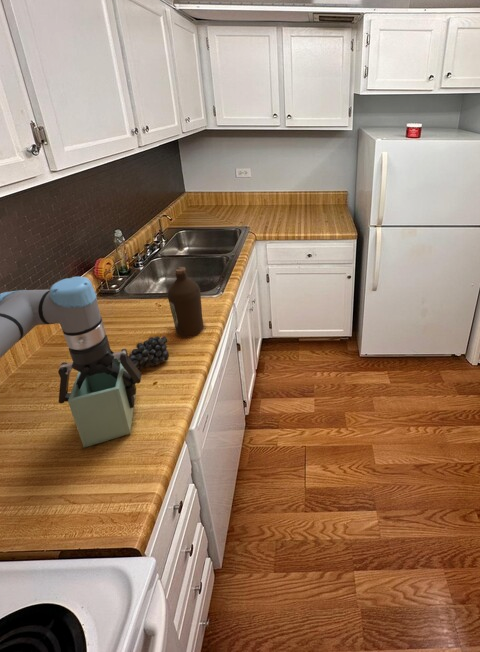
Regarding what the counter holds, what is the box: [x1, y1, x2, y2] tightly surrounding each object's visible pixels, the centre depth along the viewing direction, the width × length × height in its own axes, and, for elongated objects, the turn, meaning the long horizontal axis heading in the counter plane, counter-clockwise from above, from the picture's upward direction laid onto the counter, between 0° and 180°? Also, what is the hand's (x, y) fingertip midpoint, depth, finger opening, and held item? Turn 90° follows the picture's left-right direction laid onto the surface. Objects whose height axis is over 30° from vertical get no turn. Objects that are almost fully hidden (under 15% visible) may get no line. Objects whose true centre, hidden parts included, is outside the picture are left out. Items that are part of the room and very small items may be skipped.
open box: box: [67, 359, 136, 448], centre depth 83 cm, size 15×10×12 cm
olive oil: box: [167, 266, 204, 338], centre depth 117 cm, size 11×11×25 cm
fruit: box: [128, 335, 171, 370], centre depth 104 cm, size 9×8×15 cm
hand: (109, 410), depth 85 cm, fingers closed on open box, 10 cm apart
